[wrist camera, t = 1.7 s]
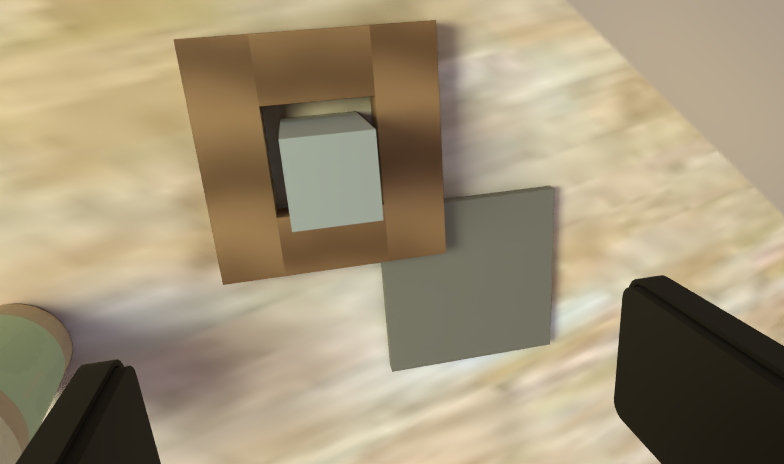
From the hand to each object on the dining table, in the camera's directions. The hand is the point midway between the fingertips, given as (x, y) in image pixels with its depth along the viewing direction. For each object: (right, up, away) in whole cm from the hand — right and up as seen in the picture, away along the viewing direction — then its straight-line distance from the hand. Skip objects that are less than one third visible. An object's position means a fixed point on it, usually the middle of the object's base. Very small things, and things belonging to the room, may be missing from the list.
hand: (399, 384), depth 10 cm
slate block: (-4, +8, +23) cm, 24 cm away
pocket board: (-4, +8, +23) cm, 24 cm away
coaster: (+5, 0, +27) cm, 28 cm away
